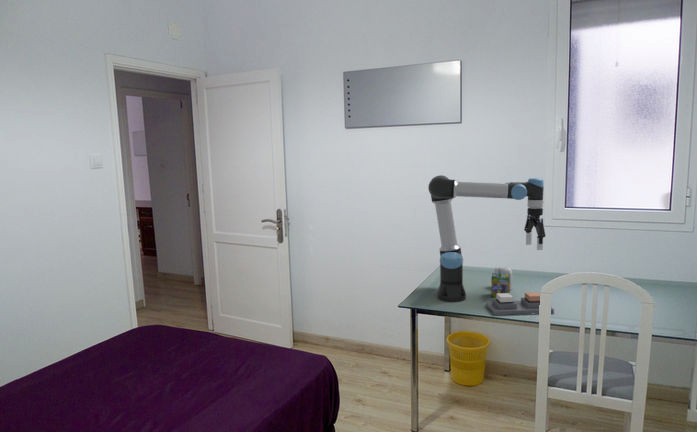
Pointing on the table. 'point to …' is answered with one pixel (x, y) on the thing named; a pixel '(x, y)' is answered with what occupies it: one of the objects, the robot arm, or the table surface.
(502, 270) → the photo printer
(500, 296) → the white key
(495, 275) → the chalk box
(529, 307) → the key panel
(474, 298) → the table surface
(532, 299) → the terracotta key
